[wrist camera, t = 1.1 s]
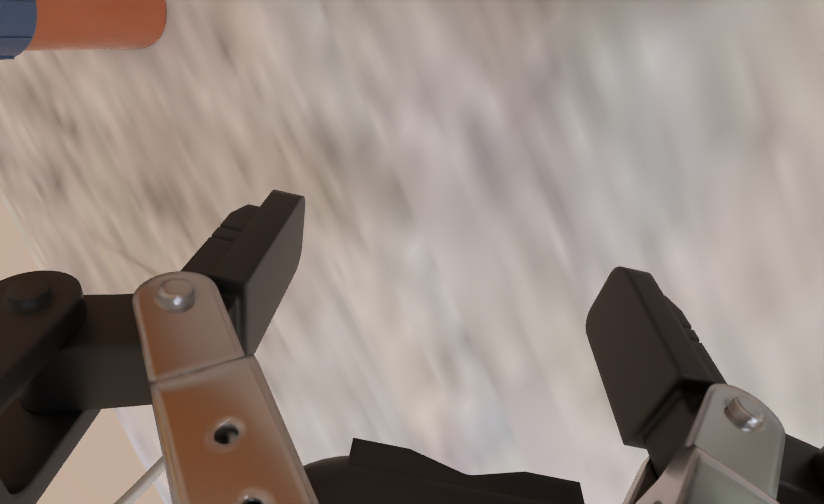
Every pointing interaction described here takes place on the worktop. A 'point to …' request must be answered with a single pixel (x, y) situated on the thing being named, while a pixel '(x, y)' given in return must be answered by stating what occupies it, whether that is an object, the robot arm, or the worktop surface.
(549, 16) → the worktop surface
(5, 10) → the lid
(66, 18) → the jar
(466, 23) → the worktop surface
